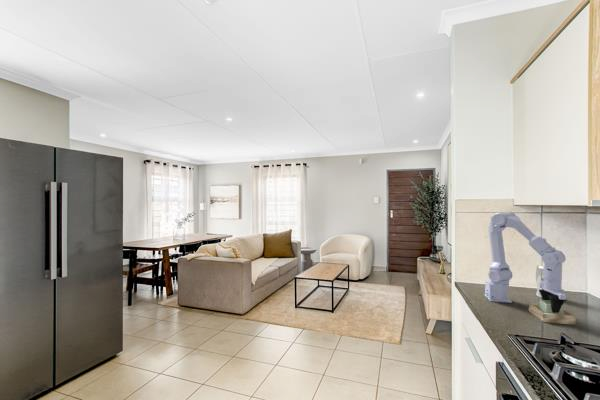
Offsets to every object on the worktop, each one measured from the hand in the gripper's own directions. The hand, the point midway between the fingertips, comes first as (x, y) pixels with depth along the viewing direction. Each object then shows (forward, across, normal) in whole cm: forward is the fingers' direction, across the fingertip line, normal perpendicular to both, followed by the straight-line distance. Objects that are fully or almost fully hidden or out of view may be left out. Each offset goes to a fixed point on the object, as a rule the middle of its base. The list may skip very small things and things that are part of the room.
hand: (551, 309), depth 123 cm
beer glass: (+4, +27, -11) cm, 29 cm away
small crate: (+2, 0, 0) cm, 2 cm away
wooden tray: (+3, 0, 0) cm, 3 cm away
